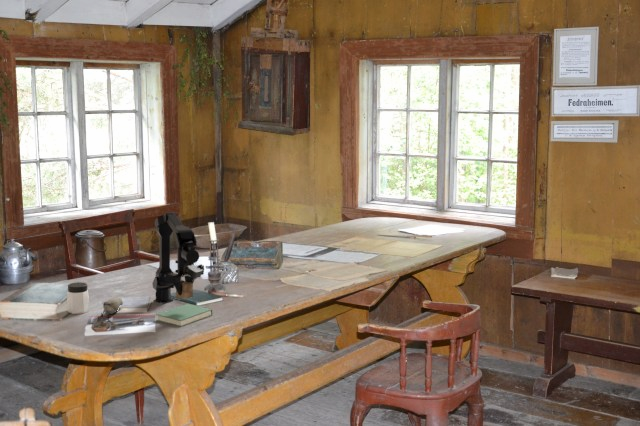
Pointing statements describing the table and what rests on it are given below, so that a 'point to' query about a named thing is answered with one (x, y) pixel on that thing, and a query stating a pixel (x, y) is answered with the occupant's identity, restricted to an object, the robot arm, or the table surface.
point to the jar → (77, 298)
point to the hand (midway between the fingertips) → (184, 293)
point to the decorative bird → (112, 305)
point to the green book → (184, 314)
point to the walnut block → (186, 290)
